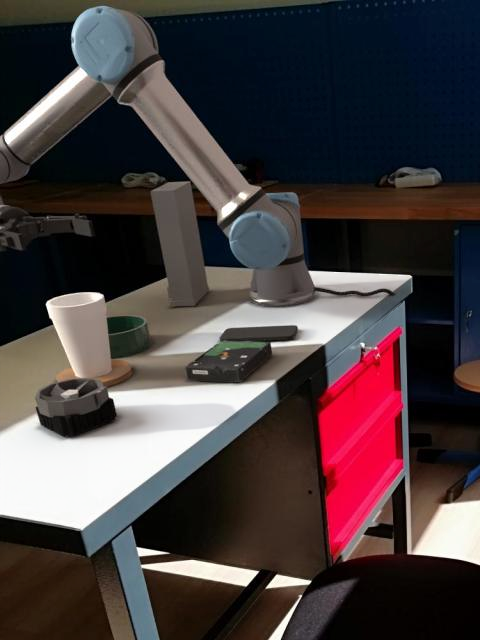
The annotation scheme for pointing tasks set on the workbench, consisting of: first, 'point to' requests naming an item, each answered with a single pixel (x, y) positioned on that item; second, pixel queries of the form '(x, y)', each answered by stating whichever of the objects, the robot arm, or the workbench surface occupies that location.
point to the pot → (127, 335)
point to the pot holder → (116, 375)
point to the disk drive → (229, 361)
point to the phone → (259, 333)
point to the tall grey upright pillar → (180, 243)
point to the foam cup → (83, 332)
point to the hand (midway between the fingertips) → (58, 235)
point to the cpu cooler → (74, 406)
